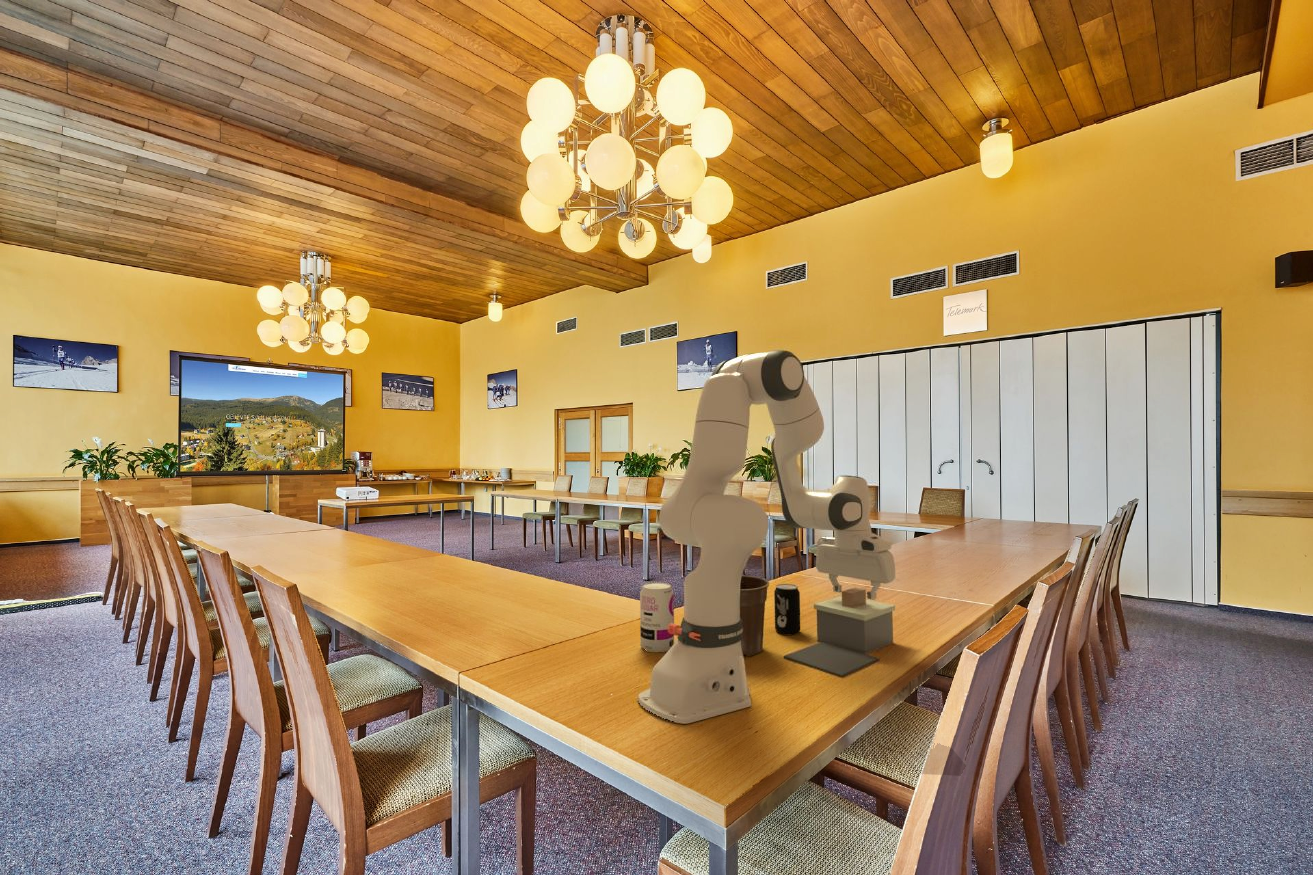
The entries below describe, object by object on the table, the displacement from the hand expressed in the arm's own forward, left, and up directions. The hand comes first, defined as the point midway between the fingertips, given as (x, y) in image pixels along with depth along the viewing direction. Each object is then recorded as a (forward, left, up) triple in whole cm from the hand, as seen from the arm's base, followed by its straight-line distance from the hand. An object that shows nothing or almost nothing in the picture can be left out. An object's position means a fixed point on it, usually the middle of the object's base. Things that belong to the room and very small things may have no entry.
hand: (854, 595), depth 140 cm
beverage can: (-6, +16, -12) cm, 21 cm away
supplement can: (-40, +29, -12) cm, 51 cm away
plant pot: (-26, +16, -12) cm, 33 cm away
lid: (0, 0, -4) cm, 4 cm away
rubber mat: (-15, -3, -11) cm, 19 cm away
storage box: (0, 0, -11) cm, 11 cm away
